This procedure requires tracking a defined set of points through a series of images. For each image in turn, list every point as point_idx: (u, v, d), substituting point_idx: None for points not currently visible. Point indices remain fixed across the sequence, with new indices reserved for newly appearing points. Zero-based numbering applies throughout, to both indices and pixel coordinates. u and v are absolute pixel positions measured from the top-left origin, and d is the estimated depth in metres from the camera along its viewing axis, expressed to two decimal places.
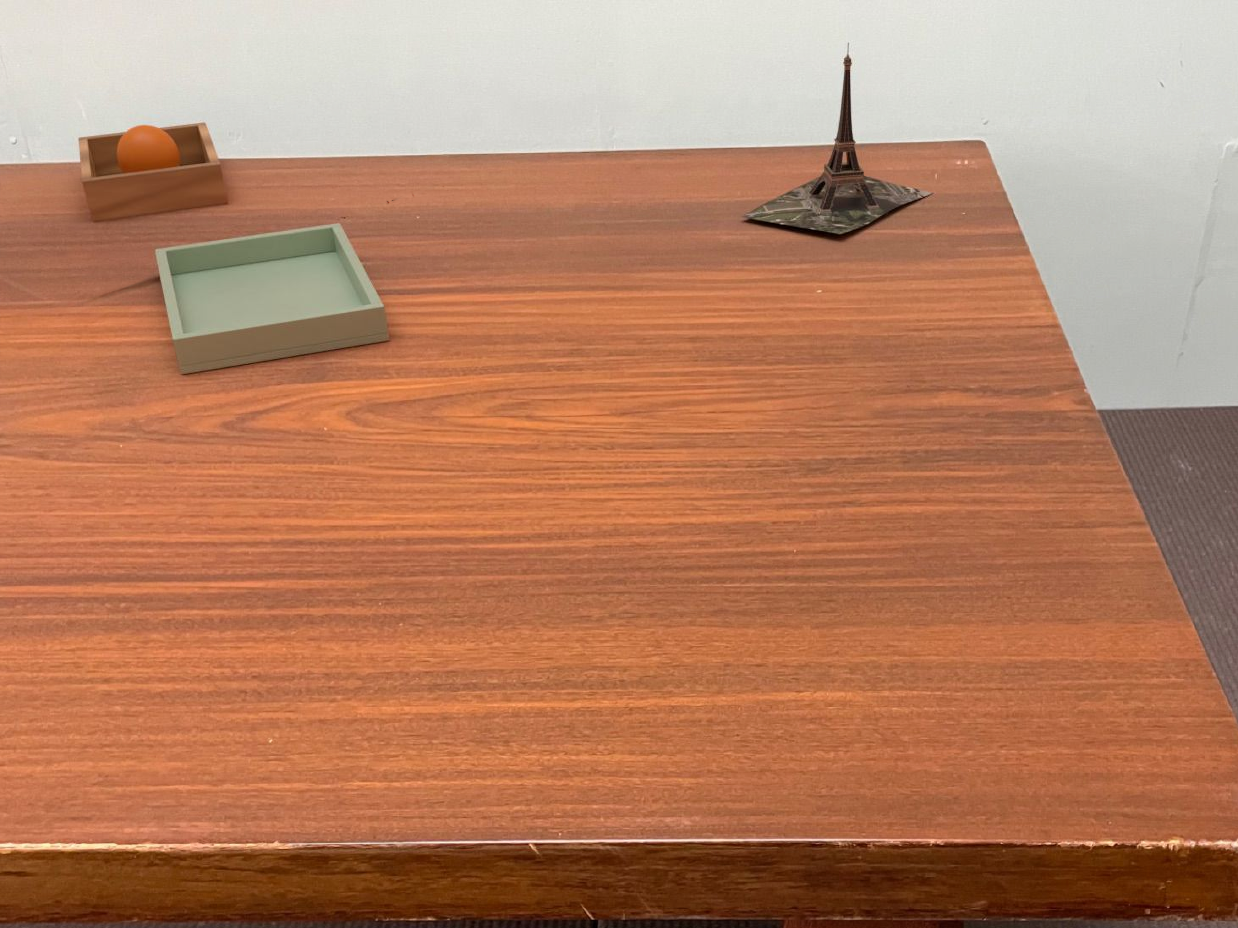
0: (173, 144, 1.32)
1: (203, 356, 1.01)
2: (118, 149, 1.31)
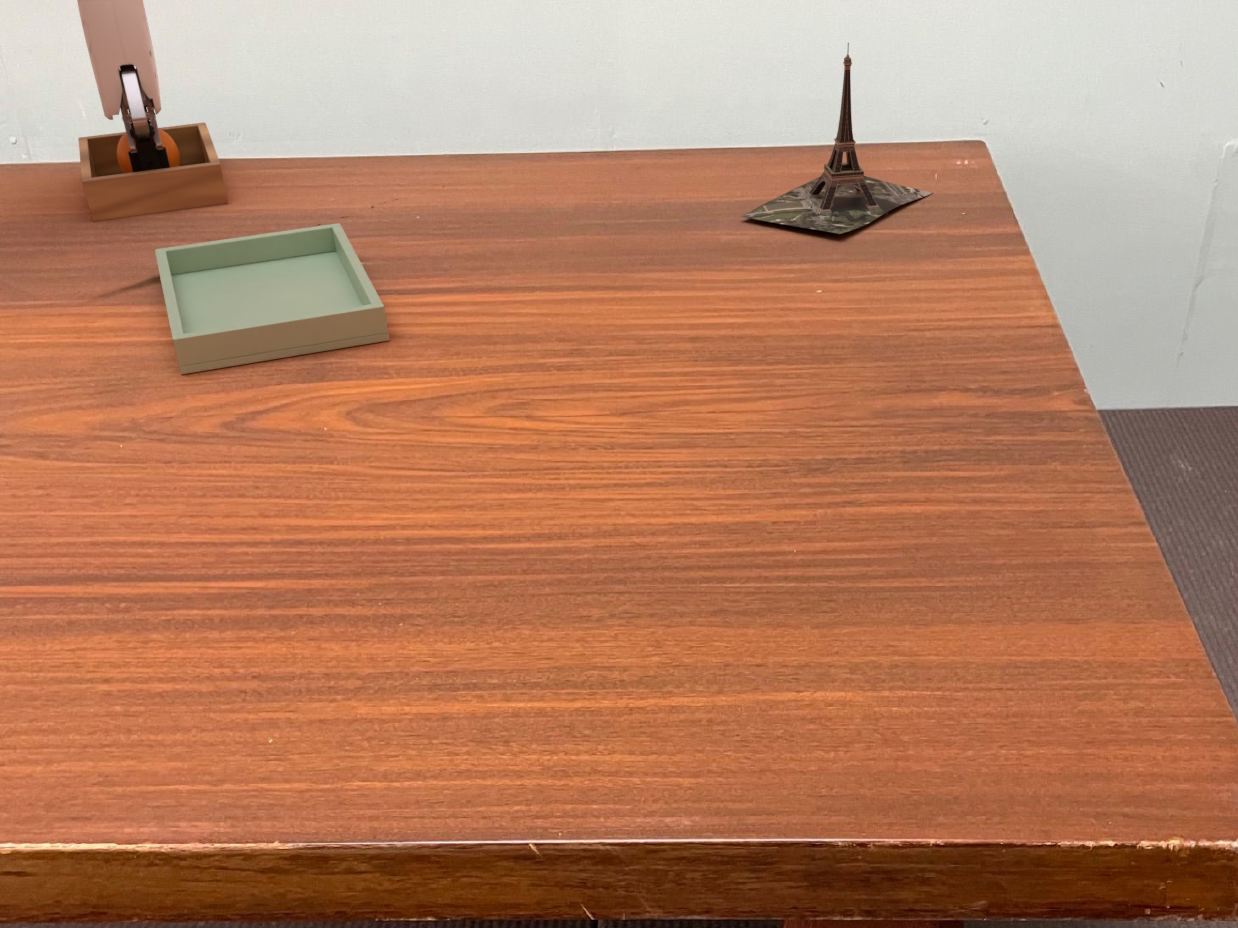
0: (173, 144, 1.32)
1: (203, 356, 1.01)
2: (118, 149, 1.31)
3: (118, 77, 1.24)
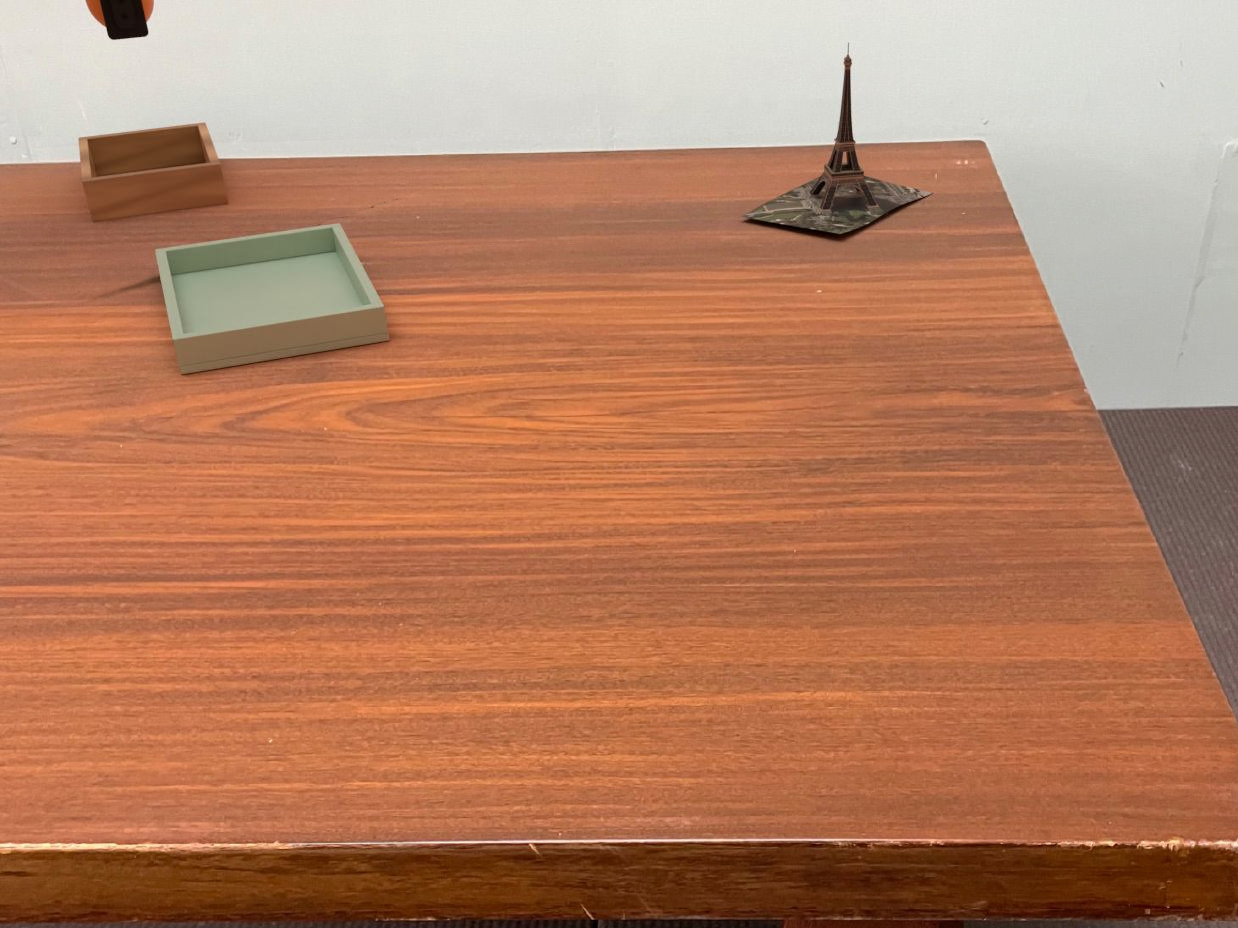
0: None
1: (203, 356, 1.01)
2: None
3: None
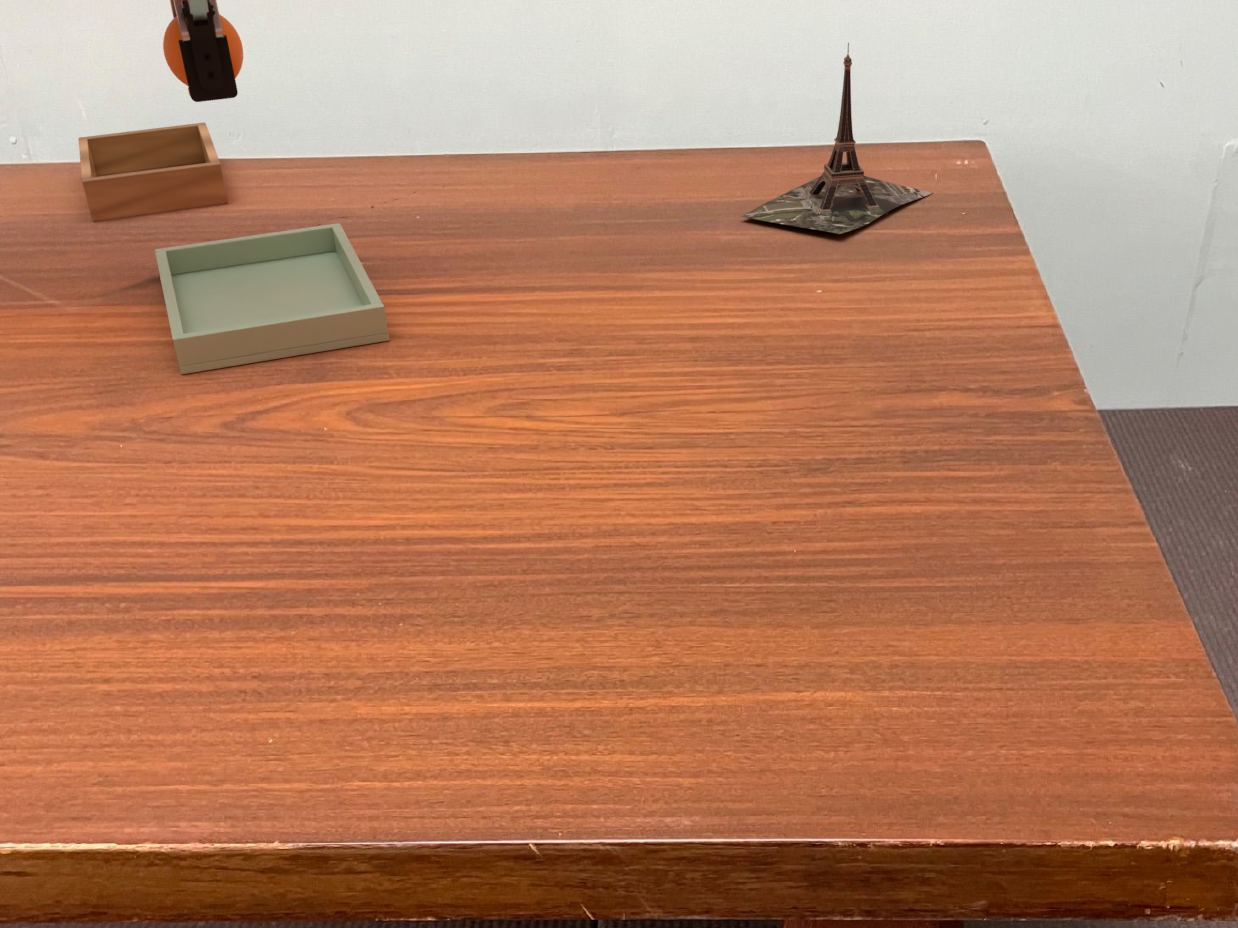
0: (235, 33, 1.03)
1: (203, 356, 1.01)
2: (165, 39, 1.02)
3: None
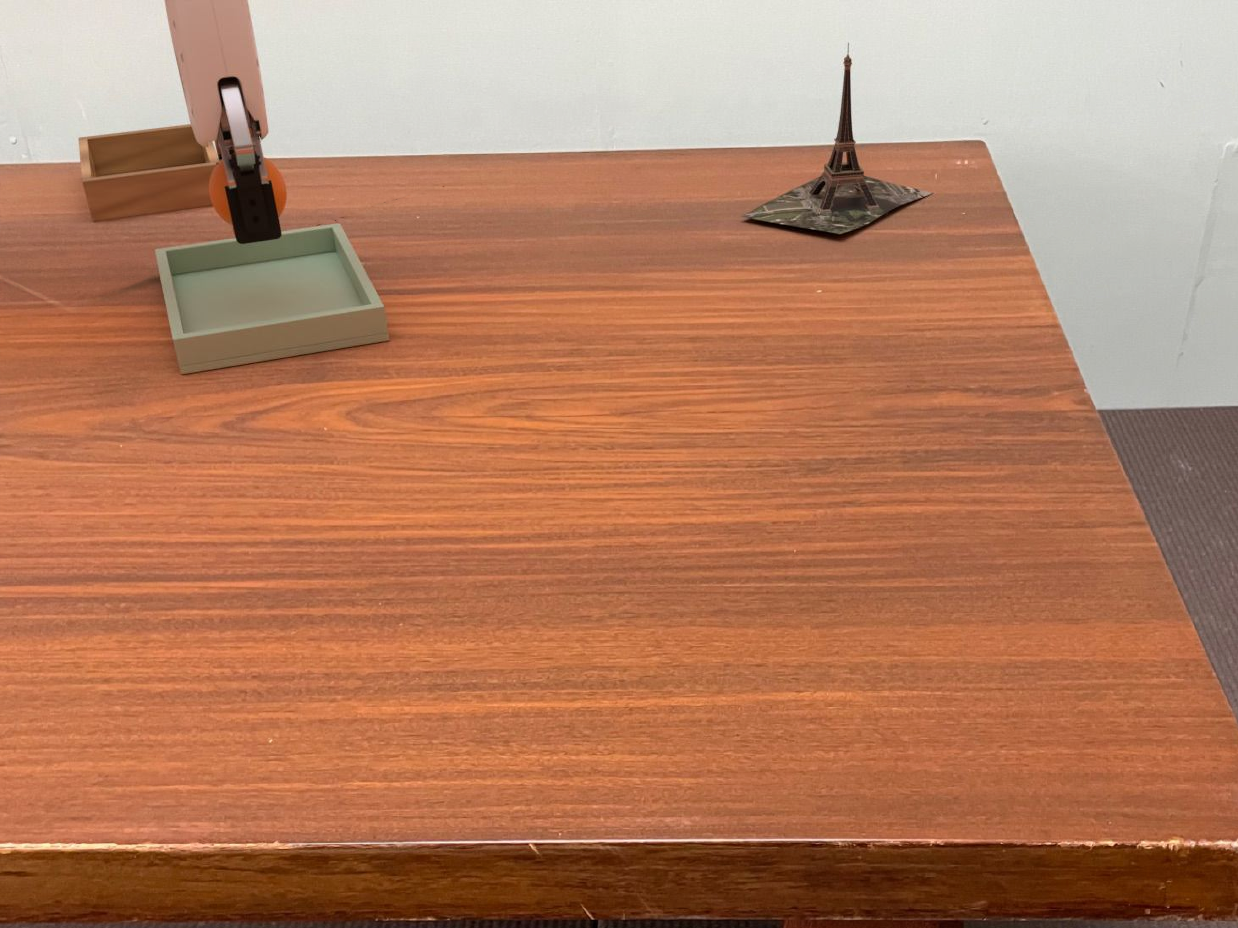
0: (279, 176, 1.05)
1: (203, 356, 1.01)
2: (211, 182, 1.04)
3: (217, 93, 0.97)
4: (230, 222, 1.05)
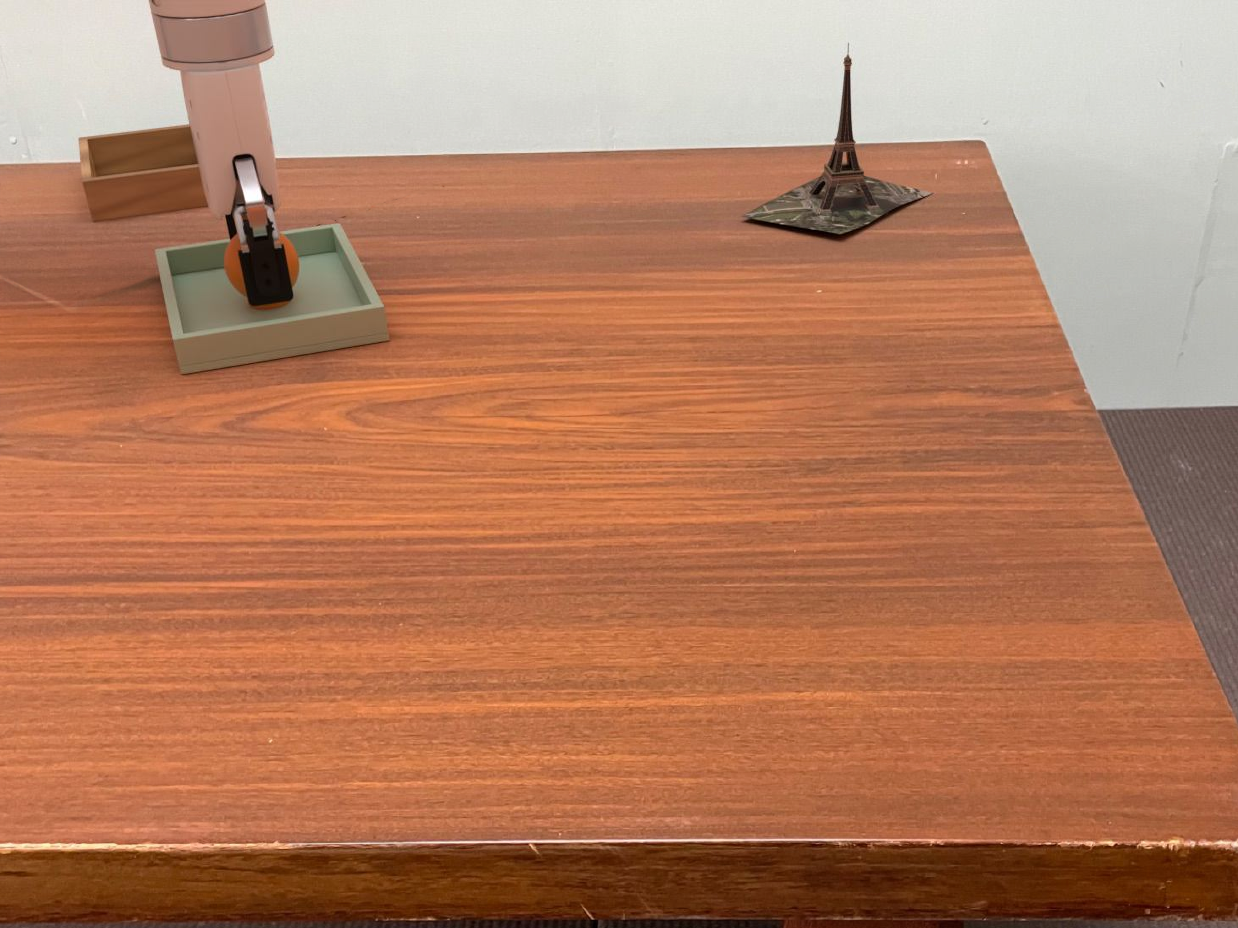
0: (292, 249, 1.08)
1: (203, 356, 1.01)
2: (226, 256, 1.07)
3: (232, 169, 1.00)
4: (244, 294, 1.08)
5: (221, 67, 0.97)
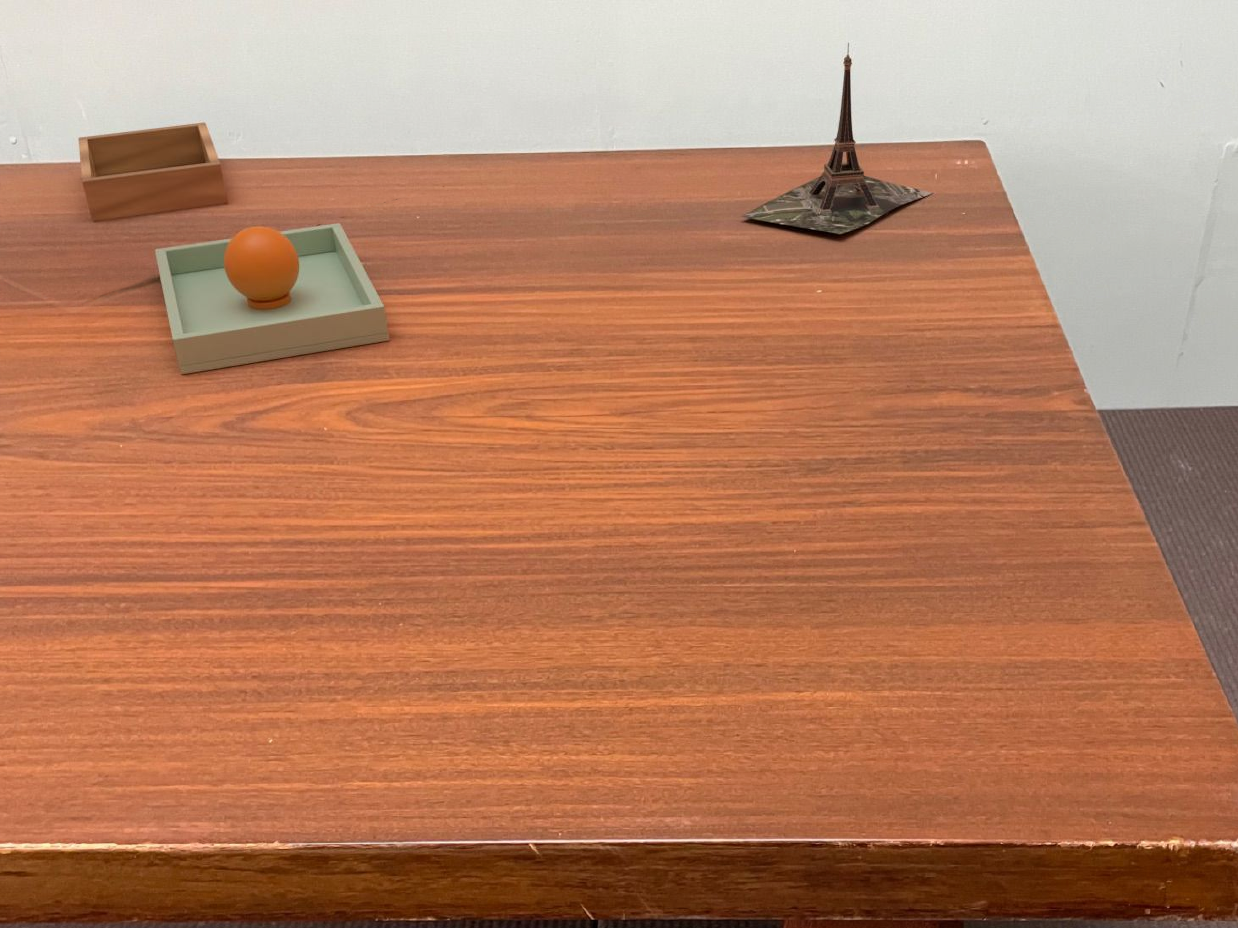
0: (292, 249, 1.08)
1: (203, 356, 1.01)
2: (226, 256, 1.07)
3: None
4: (244, 294, 1.08)
5: None
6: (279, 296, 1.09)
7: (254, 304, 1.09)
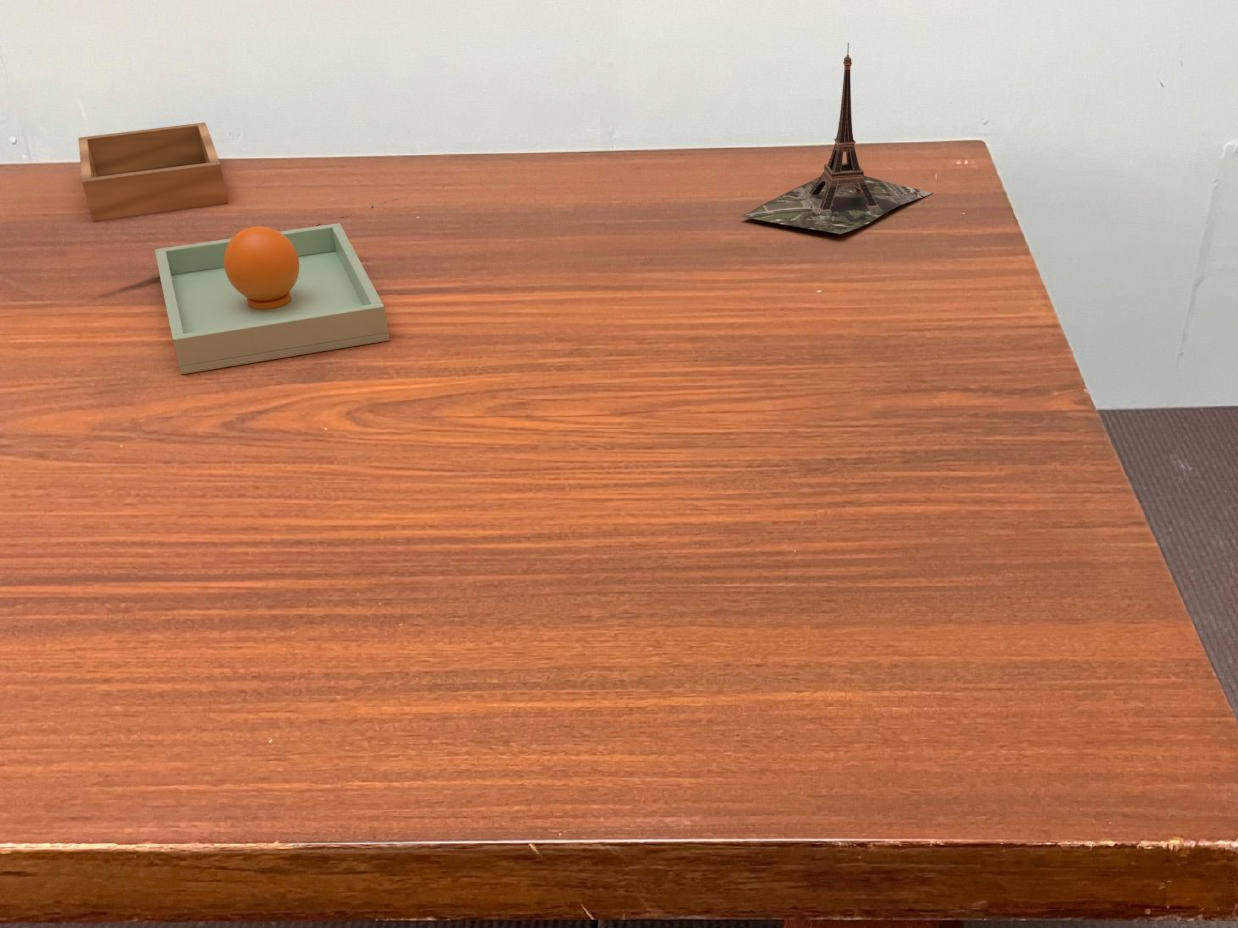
0: (292, 249, 1.08)
1: (203, 356, 1.01)
2: (226, 256, 1.07)
3: None
4: (244, 294, 1.08)
5: None
6: (279, 296, 1.09)
7: (254, 304, 1.09)
